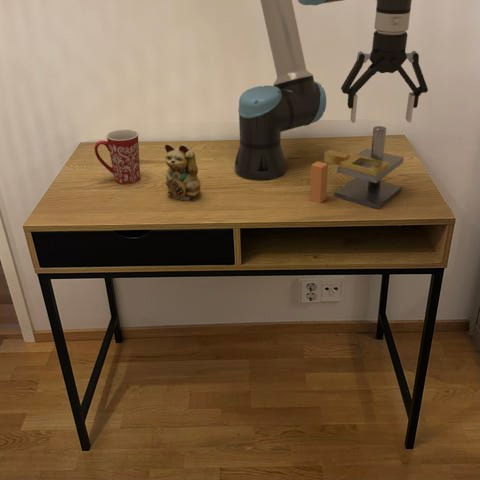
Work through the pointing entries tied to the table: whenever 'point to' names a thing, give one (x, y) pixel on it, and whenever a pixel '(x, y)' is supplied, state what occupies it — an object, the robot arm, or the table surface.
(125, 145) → the mug
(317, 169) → the wedge pin
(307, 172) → the table surface
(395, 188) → the grey and yellow stand
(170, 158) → the decorative figurine
